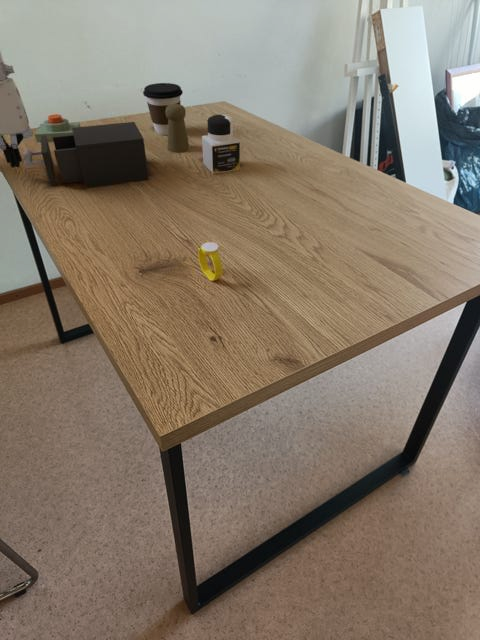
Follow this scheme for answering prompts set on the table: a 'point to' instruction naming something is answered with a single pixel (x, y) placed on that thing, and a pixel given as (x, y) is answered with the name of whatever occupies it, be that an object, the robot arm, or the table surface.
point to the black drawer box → (111, 154)
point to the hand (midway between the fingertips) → (15, 165)
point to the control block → (55, 129)
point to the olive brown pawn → (176, 128)
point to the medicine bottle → (221, 145)
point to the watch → (212, 250)
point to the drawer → (58, 159)
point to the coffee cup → (161, 103)
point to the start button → (55, 119)
